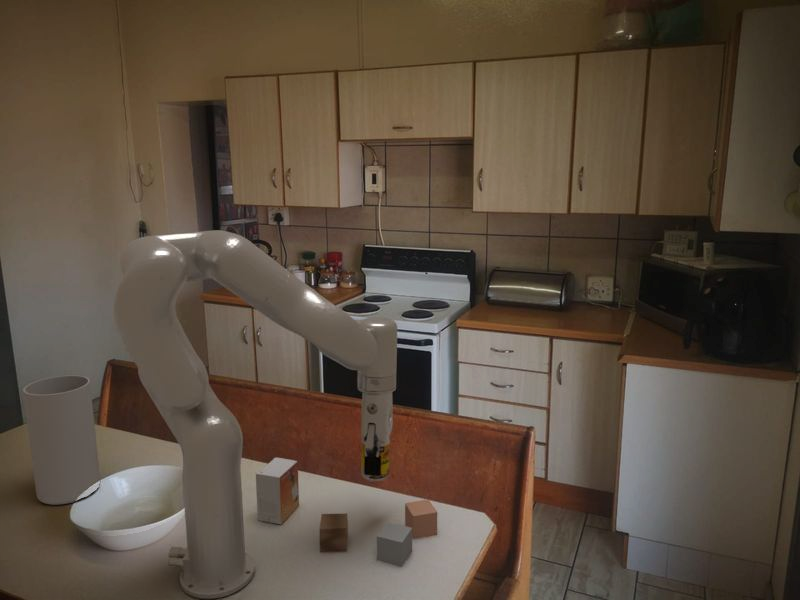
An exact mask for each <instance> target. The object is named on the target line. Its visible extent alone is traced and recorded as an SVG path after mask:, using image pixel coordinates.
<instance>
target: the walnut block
mask: <svg viewBox="0 0 800 600" xmlns="http://www.w3.org/2000/svg"><path fill="white" fill-rule="evenodd" d="M319 523H320V524H319V529H318V530H319V553H347V552H348V538H349V537H348V536H349V533H348V532H349V531H348V530H349V529H348V528H349V527H348V525H349V524H348V513H345V512H344V513H321V515H320V522H319Z"/></svg>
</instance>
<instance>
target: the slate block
mask: <svg viewBox="0 0 800 600" xmlns="http://www.w3.org/2000/svg"><path fill="white" fill-rule="evenodd" d="M412 553H413V538H412V528H411V527H406V526H405V525H402V524H397V523H393V522H388V521H387V522H386V523H385V524H384V526H383V527H382V528H381V530H380V531H379V532H378V534H377V535H376V561H378V562H381V563H382V562H383V563H386V564H389V565H394V566H397V567H400V568H402V567H403V566H404V565H405V563H406V561H407V560H408V558H409V557H410V555H411V554H412Z"/></svg>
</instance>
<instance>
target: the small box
mask: <svg viewBox="0 0 800 600" xmlns="http://www.w3.org/2000/svg"><path fill="white" fill-rule="evenodd" d="M255 486H256V487H255V489H256V490H255V491H256V492H255V493H256V510H257V511H256V512H257V520H258V521H261V522H266V523H270V524H276V525H281V526H282V524H283V523H284V522H285V521H286V520H287V519H288V518H289V517H290V515H292V514H293V513H294V511H296V510H297V509H298V508H299V506H300V500H299V499H300V498H299V497H300V495H299V487H300V486H299V462H298V461H297V460H294V459H287V458H282V457H278V456H277V457H274V458H273V459H272V460H271V461H270V462H269V463H267V464H266V465H265V466H264V467H263V468H261V469H260V470H258V471H257V472H256V473H255Z"/></svg>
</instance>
